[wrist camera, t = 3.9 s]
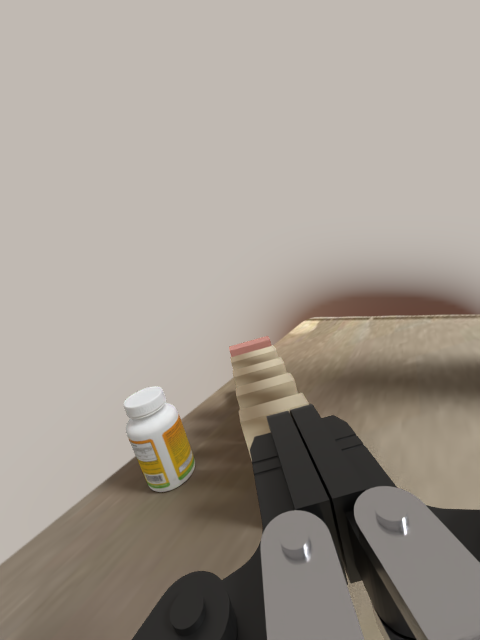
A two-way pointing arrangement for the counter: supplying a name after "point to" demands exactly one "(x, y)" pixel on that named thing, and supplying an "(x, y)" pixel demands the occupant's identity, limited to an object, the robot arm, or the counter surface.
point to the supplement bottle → (158, 439)
